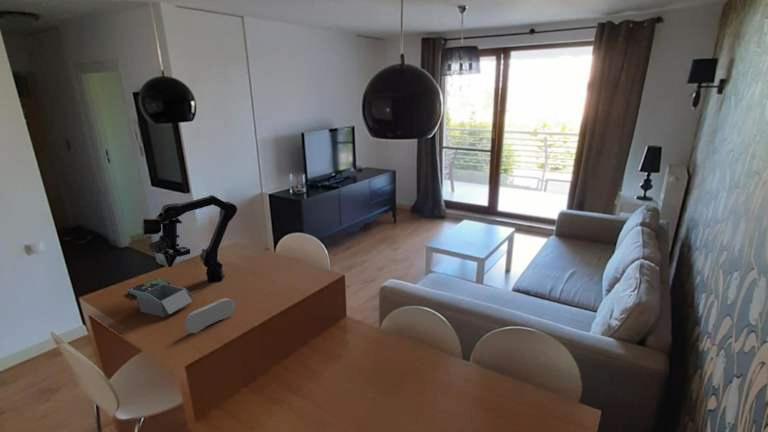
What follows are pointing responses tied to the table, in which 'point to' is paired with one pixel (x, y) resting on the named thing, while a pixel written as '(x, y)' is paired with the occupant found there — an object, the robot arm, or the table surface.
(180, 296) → the grey open storage bin
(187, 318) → the grey rounded flat bar
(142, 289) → the disk drive
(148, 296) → the flap
